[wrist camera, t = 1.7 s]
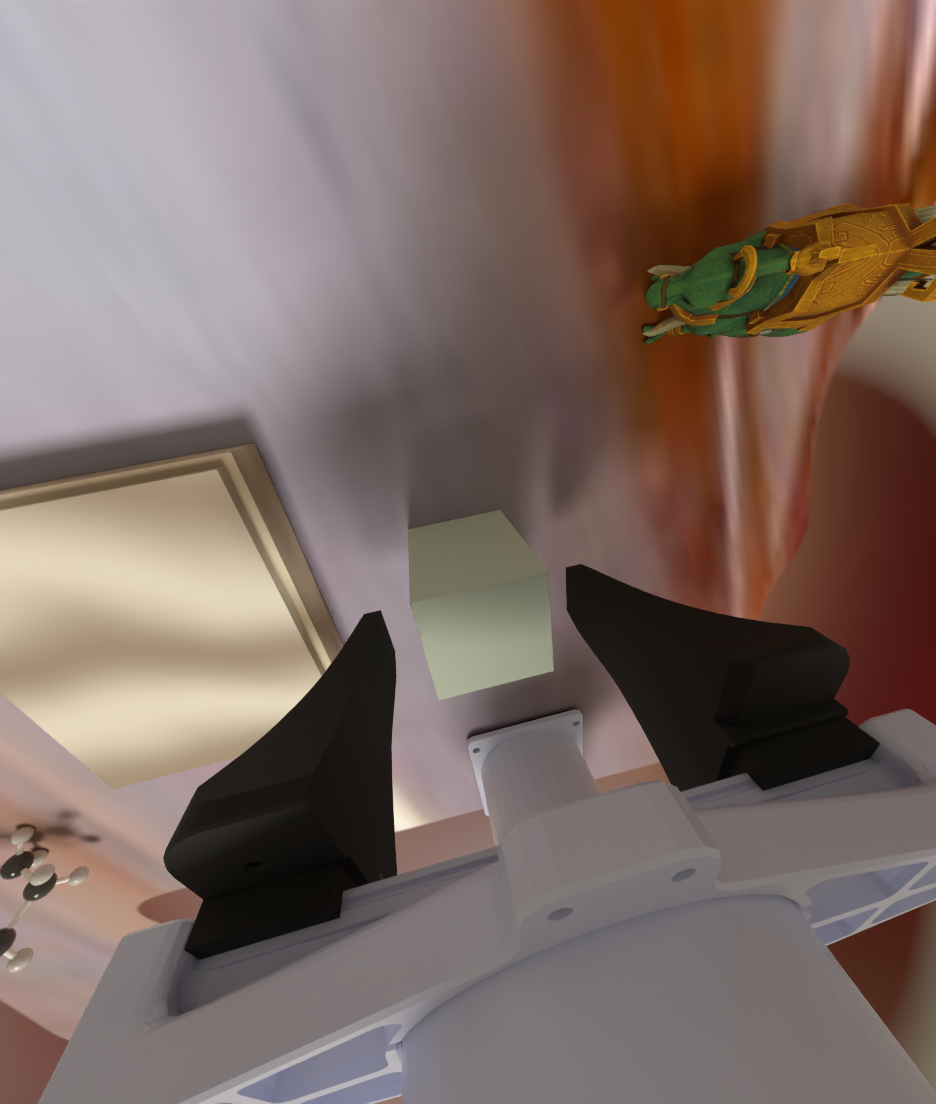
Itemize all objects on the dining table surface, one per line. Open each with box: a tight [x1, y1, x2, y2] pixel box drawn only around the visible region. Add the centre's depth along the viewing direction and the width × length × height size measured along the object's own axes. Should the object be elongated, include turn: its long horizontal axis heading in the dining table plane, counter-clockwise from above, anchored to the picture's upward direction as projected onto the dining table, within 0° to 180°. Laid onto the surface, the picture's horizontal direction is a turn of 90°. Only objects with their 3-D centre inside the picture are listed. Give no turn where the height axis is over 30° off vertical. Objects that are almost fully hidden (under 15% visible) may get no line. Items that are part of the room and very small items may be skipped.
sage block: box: [408, 510, 554, 700], centre depth 14 cm, size 4×4×6 cm
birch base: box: [0, 443, 343, 789], centre depth 15 cm, size 14×12×2 cm
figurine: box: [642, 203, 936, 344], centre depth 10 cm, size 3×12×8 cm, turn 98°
